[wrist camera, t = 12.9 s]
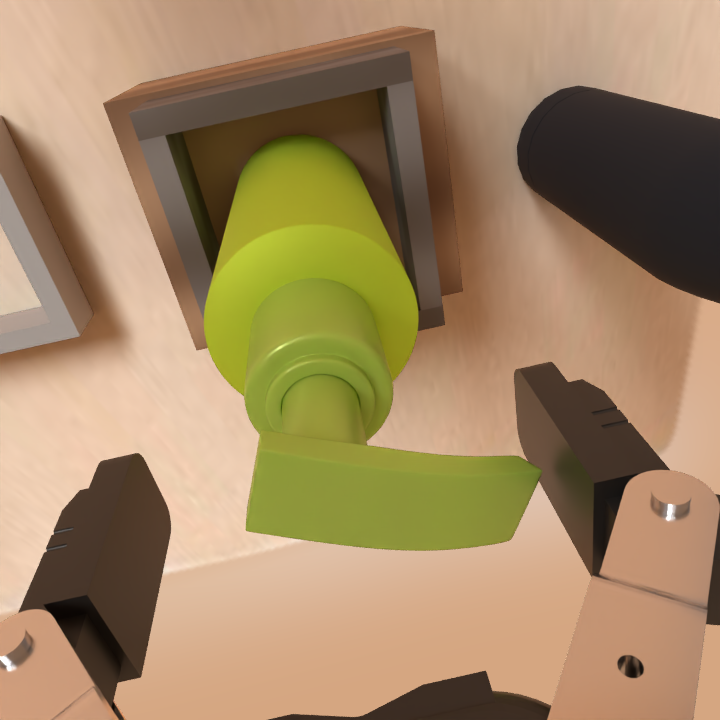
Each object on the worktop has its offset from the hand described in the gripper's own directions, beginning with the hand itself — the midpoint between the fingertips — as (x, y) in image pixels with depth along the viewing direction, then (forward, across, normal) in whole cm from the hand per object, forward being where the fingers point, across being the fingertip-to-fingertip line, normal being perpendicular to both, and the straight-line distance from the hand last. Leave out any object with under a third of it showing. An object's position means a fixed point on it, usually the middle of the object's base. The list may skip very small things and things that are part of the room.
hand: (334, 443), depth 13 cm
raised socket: (+26, 0, 0) cm, 26 cm away
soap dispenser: (+18, 0, 0) cm, 18 cm away
